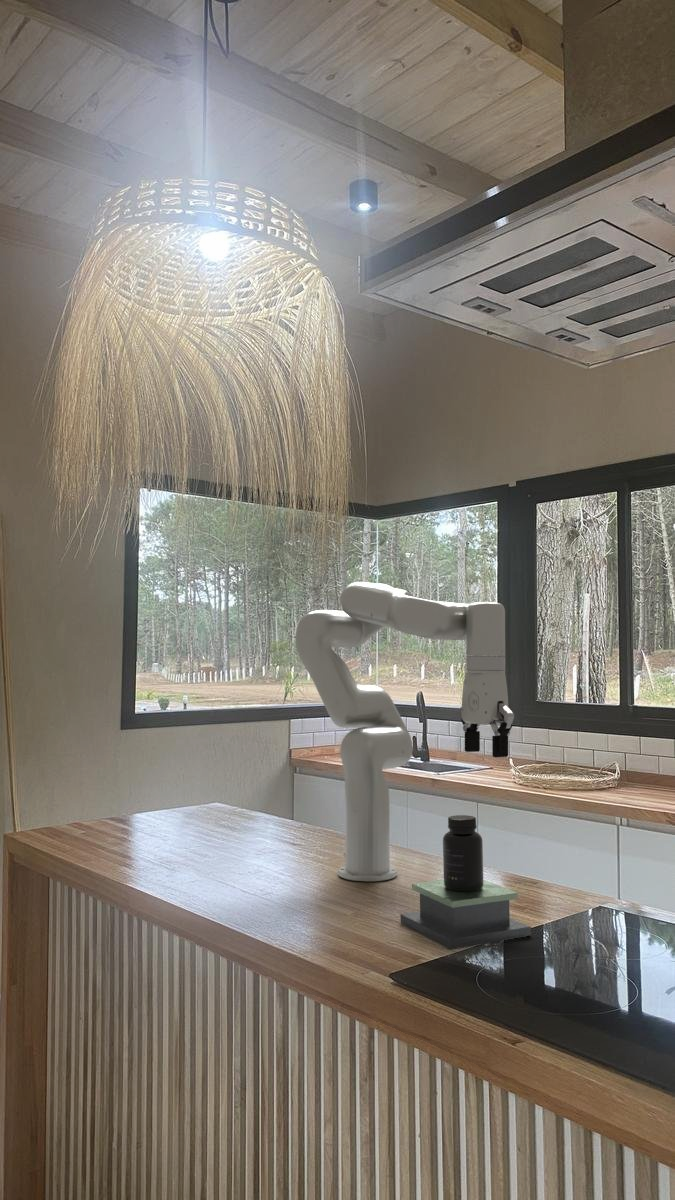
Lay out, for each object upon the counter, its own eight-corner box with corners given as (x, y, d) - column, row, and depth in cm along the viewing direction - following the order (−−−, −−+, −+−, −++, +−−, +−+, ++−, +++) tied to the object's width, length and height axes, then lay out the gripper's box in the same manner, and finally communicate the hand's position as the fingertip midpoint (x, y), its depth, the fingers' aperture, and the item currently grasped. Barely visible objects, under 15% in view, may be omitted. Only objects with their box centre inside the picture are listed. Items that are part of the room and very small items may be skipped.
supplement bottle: (457, 880, 160) (456, 812, 161) (490, 887, 156) (490, 816, 157) (435, 888, 155) (435, 817, 156) (469, 895, 151) (469, 822, 151)
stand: (400, 923, 158) (400, 882, 159) (476, 912, 165) (476, 873, 166) (449, 949, 144) (449, 904, 145) (531, 936, 151) (530, 893, 151)
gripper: (446, 665, 182) (446, 750, 181) (494, 666, 166) (494, 760, 165) (477, 665, 185) (477, 749, 184) (528, 666, 169) (528, 758, 168)
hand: (485, 754), depth 175 cm, fingers open, 9 cm apart
